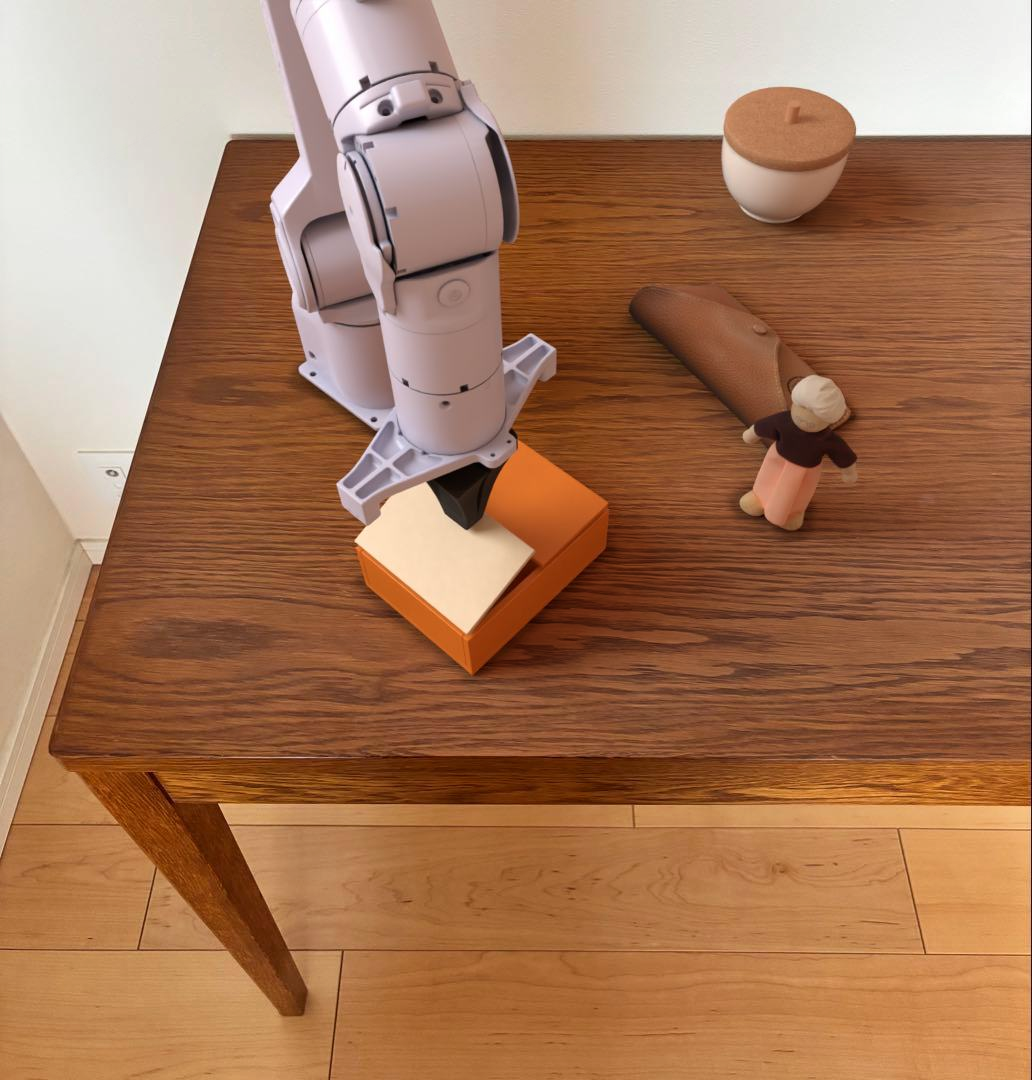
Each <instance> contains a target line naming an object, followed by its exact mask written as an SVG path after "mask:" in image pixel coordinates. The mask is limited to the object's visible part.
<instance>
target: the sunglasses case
mask: <svg viewBox="0 0 1032 1080" xmlns="http://www.w3.org/2000/svg"><path fill="white" fill-rule="evenodd" d="M628 313H629V314H630V316H631V318H632V319H633V320H634V321H635V322H636V323H637V324H639V325H640V326H641V327H642V328H643V330H645V332H647V333H648V334H649V335H650V336H652V337H653V338H654V339H655V340H656V341H657V342H658V343H660V344H661V345H662V346H663V347H664V348H665V349H666V350H667V351H668V352H669V353H670V354H672V355H673V356H674V357H675V358H676V359H678V360H679V361H680V362H681V363H682V365H683V366H684V367H686V369H688V371H689V372H690V373H691V374H692V375H693V376H695V377H696V379H697V380H698V381H700V382H701V383H702V384H703V385H704V386H705V388H707V389H708V390H709V391H710V392H711V393H712V394H713V395H714V397H716V398H717V399H718V401H720V402H721V404H723V405H724V406H725V407H726V408H727V409H728V410H729V411H730V412H731V413H732V414H733V415H734V416H735V417H736V419H738V420H739V421H740V422H741V424H743V425H744V426H745V427H746V428H747V430H748V429H749V428H750V427H751V426H752V425H754V424H755V422H756V421H757V420H759V419H762V418H765V417H767V416H770V415H773V414H776V413H779V412H782V411H788V410H791V408H792V404H793V401H792V397H791V395H792V391H793V389H794V387H795V386H796V385H797V384H798V383H799V382H800V381H801V380H803V379H804V378H806V377H808V376H811V375H817V376H820V375H819V373H817V372H816V371H815V370H814V369H813V368H812V367H811V366H810V365H808V364H807V363H806V362H805V361H804V360H803V359H802V357H800V356H799V355H798V354H797V353H795V351H794V350H792V349H791V348H790V347H789V346H788V345H786V344H785V342H783V341H782V339H781V337H780V335H779V334H778V333H777V332H776V331H775V330H774V329H773V328H772V327H771V326H769V324H767V323H766V322H765V321H764V320H762V319H761V318H759V317H758V316H755V315H754V314H753V313H752V312H751V311H750V310H748V308H747V307H745V306H744V305H743V304H742V303H741V302H739V301H738V299H736V298H735V297H734V296H733V295H732V294H731V293H730V292H728V291H727V290H726V289H725V288H724V287H723V286H721V285H720V284H718V283H716V282H714V281H707V282H705V283H701V284H697V285H684V286H683V285H682V286H672V287H671V286H670V287H669V286H668V287H664V286H659V285H657V284H647V285H643V286H642V287H641V288H639V289H638V290H637V291H636V292H635V294H634V295H633V297H632V298H631V299H630V303H629V306H628ZM845 404H846V402H845ZM846 407H847V409H845V411H844V414H843V416H842V417H841V418H840V419H839V420H838V421H837V422H835V423H830V424H829V425H828V426H829V427H830V428H831V430H832V431H833V432H834V430H836V429H838V428H839V427H841V426H843V425H844V424H845V423H847V422H848V421H849V420H850V419H851V416H852V415H853V413H852V410H851V409H850V408H849V406H848V404H846ZM759 441H760V443H762V444H763V445H764V446H765V448H766V449H767V450H769V448H770V447H771V446H772V444H773V443H774V442H775V440H772V439H768V438H765V437H762V438H761V439H759Z"/></svg>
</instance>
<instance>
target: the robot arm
mask: <svg viewBox="0 0 1032 1080" xmlns="http://www.w3.org/2000/svg"><path fill="white" fill-rule="evenodd" d="M259 4H260V5H259V6H260V8H261V13H262V17H263V20H264V25H265V27H266V31H267V35H268V38H269V42H270V46H271V50H272V54H273V57H274V62H275V66H276V69H277V73H278V77H279V81H280V84H281V88H282V92H283V96H284V99H285V103H286V107H287V112H288V114H289V119H290V123H291V127H292V130H293V134H294V137H295V141H296V145H297V148H298V152H299V157H298V159H297V160H296V162H295V163H294V164H293V166H292V168H290V169H289V171H288V173H287V174H286V175H285V176H284V177H283V179H282V180H281V181H280V182H279V184H277V186H276V187H275V188H274V190H273V191H272V193H271V195H270V199H271V202H270V204H269V209H270V213H271V216H272V219H273V224H274V227H275V229H274V234H275V239H276V243H277V245H278V246H277V247H278V249H279V253H280V254H279V255H280V256H281V260H282V264H283V267H284V270H285V272H286V276H287V278H288V283H289V284H290V285H289V286H290V288H291V290H292V295H291V308H292V312H293V316H294V319H295V323H296V327H297V330H298V335H299V337H300V342H301V346H302V349H303V352H304V356H305V359H306V361H305V362H303V363H302V364H300V365H299V366H298V373H299V375H300V376H301V377H303V378H305V379H306V380H307V381H309V382H310V383H311V384H313V385H314V386H315V387H317V388H318V389H319V390H320V391H322V392H324V393H325V395H327V396H328V397H330V398H331V399H333V400H334V401H335V402H337V404H339V405H340V406H342V407H343V408H345V409H346V410H347V411H349V412H350V413H351V414H353V415H354V416H355V417H356V418H358V419H359V420H360V421H362V422H363V423H365V425H367V426H369V428H371V429H372V430H374V431H375V432H376V434H375V436H374V437H373V439H372V440H371V441H370V443H369V445H368V446H367V448H366V449H365V451H364V452H363V454H362V456H360V458H359V460H358V461H357V462H356V464H355V465H354V467H352V468H351V470H350V471H349V472H348V473H347V474H346V475H345V476H344V477H342V478H341V479H340V480H339V481H338V482H336V484H335V485H336V489H337V491H338V495H339V499H340V502H341V506H342V507H343V508H344V509H345V510H346V511H348V512H349V513H350V514H351V515H352V516H353V517H355V518H356V519H357V520H359V521H360V522H361V523H362V524H363V525H365V527H366V526H369V525H370V524H371V523H372V522H374V521H375V520H376V519H377V518H379V517H380V515H381V511H380V509H381V507H380V506H381V503H382V502H383V501H384V500H386V499H389V498H390V497H391V496H393V495H395V494H397V493H400V492H402V491H405V490H407V489H409V488H412V487H414V486H417V485H419V484H422V483H424V482H426V483H427V484H428V485H429V487H430V488H431V489H432V491H433V493H434V494H435V496H436V497H437V499H438V501H439V503H440V505H441V507H442V509H443V511H444V514H445V515H447V516H448V517H449V518H451V519H452V520H453V521H454V522H456V523H457V524H458V525H460V526H461V527H462V528H463V529H465V530H469V529H470V528H471V527H472V526H473V525H474V524H476V523H477V522H478V521H479V520H480V519H481V518H482V517H483V514H484V512H485V509H486V506H487V503H488V500H489V496H490V494H491V491H492V488H493V486H494V483H495V481H496V479H497V477H498V475H499V473H500V471H501V470H502V468H503V466H504V465H505V463H506V462H507V461H508V459H509V458H510V457H511V456H512V455H513V454H514V453H515V452H516V450H517V449H518V440H519V439H518V434H517V432H516V430H514V429H513V428H512V427H513V425H514V423H515V422H516V419H517V417H518V415H519V414H520V412H521V410H522V408H523V406H524V405H525V403H526V402H527V399H528V398H529V396H530V394H531V393H532V390H533V389H534V387H535V385H536V384H537V382H538V381H540V382H547V381H549V380H550V379H551V378H552V377H554V376H555V375H556V374H557V348H556V347H554V346H552V345H551V344H549V343H547V342H546V341H545V340H543V339H541V338H539V337H538V336H537V335H535V334H534V333H529V334H527V335H526V336H524V337H523V338H521V339H519V340H518V341H516V342H514V343H511V344H510V345H507V346H505V347H503V327H502V325H503V323H502V305H501V302H502V301H501V279H500V277H501V276H500V257H499V255H500V254H499V248H500V247H501V245H502V243H503V242H504V243H505V244H508V245H509V244H510V245H512V244H513V243H515V241H517V238H518V235H519V231H520V202H519V194H518V187H517V182H516V177H515V172H514V167H513V164H512V160H511V157H510V153H509V150H508V147H507V143H506V142H505V138H504V135H503V132H502V130H501V128H500V126H499V124H498V121H497V119H496V118H495V115H494V114H493V112H492V111H491V109H490V108H489V107H488V106H487V105H486V104H485V102H483V101H482V99H481V98H480V95H479V94H478V91H477V88H476V85H475V83H472V82H473V81H472V80H471V79H470V78H469V79H466V80H461V79H460V77H459V74H458V72H457V69H456V65H455V63H454V60H453V57H452V54H451V52H450V49H449V46H448V43H447V41H446V38H445V35H444V32H443V29H442V27H441V23H440V20H439V18H438V15H437V12H436V9H435V7H434V4H433V1H432V0H259Z"/></svg>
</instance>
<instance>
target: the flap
mask: <svg viewBox="0 0 1032 1080" xmlns="http://www.w3.org/2000/svg"><path fill="white" fill-rule="evenodd" d="M380 511H381V515H380V517H379V518H377V519H376V520H375V521H374V522H372V523H371V524H370V525H369V526H366V525H365V527H364V528H363V529H362V530H361V532H360V533H359V534H358V536H357V537H356V538H355V539H354V543H355V544H357V546H358V545H360V546H361V547H362V548H363V549H364V550H366V551H367V552H368V553H369V554H370V555H372V556H373V557H374V558H375V559H376V560H378V561H379V562H380V563H381V564H382V565H384V566H385V567H386V568H387V569H388V570H390V571H391V572H392V573H393V574H394V575H396V576H397V577H398V578H399V579H400V580H402V581H403V582H404V583H405V584H406V585H408V586H409V587H410V588H411V589H413V590H414V591H415V592H416V593H417V594H419V595H420V596H421V597H422V598H423V599H425V600H426V601H427V602H428V603H429V604H431V605H432V606H433V607H434V608H435V609H437V610H438V611H439V612H440V613H441V614H443V615H444V616H445V617H446V618H447V619H449V620H450V621H451V622H452V623H453V624H455V625H456V626H457V627H458V628H460V629H461V630H462V631H463V632H464V633H466V634H467V635H469V634H470V633H471V632H472V631H473V629H474V628H475V627H476V626H477V624H478V623H479V622H480V621H481V619H482V618H483V617H484V616H485V614H486V613H487V612H488V611H489V609H490V608H491V607H492V606H493V604H494V603H495V602H496V601H497V599H498V598H499V597H500V596H501V594H502V593H503V592H504V591H505V589H506V588H507V587H508V586H509V584H510V583H511V582H512V581H513V579H514V578H515V577H516V576H517V574H518V573H519V572H520V571H521V569H522V568H523V567H524V566H525V564H526V563H527V562H528V561H529V559H530V558H531V557H532V556H533V554H534V553H535V552H536V551H535V550H534V549H533V548H531V547H530V546H529V545H527V544H526V543H525V542H523V541H522V540H521V539H519V538H518V537H517V536H515V535H514V534H513V533H511V532H510V531H509V530H507V529H506V528H505V527H503V526H502V525H501V524H499V523H498V522H497V521H495V520H494V519H493V518H491V517H490V516H489V515H487V514H486V513H485V512H484V514H483V517H482V518H481V519H480V520H479V521H478V522H477V523H476V524H474V525H473V526H472V527H471V528H470V529H469V530H465V529H463V528H462V527H461V526H460V525H458V524H457V523H456V522H454V521H453V520H452V519H451V518H449V517H448V516H447V515H445V514H444V511H443V509H442V507H441V505H440V503H439V501H438V499H437V497H436V496H435V494H434V493H433V491H432V489H431V488H430V487H429V485H428V484H427V483H426V482H424V483H422V484H419V485H417V486H414V487H412V488H409V489H407V490H405V491H402V492H400V493H397V494H395V495H393V496H390V497H388V498H387V500H386V501H385V503H384V504H383V505H382V506H381V507H380Z"/></svg>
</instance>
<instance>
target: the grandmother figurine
mask: <svg viewBox="0 0 1032 1080" xmlns="http://www.w3.org/2000/svg"><path fill="white" fill-rule="evenodd" d="M791 397H792V401H793V404H792V408H791V410H788V411H782V412H779V413H776V414H773V415H770V416H767V417H765V418H762V419H759V420H757V421H756V422H755V424H754V425H752V426H751V427H750V428H749V429H748V428H747V429H746V430H745V431H744V432H743V434H742V440H743V442H744V443H745V444H748V445H753V444H755V443H757V442H758V440H759V439H761V438H762V437H765V438H768V439H772V440H775V442H774V443H773V444H772V446H771V447H770V448H769V449H767V452H766V454H765V457H764V458H763V461H762V464H761V466H760V469H759V471H758V472H757V475H756V479H755V481H754V484H753V487H752V490H750V491H747V493H744V495H743V496H741V498H740V499H739V507H740V508H741V510H742V511H743V512H744V513H746V514H747V515H749V516H752V517H760V516H762V515H764V516H765V519H766V520H767V521H769V522H770V524H773V525H775V526H778V527H780V528H781V529H784V530H786V531H796V530H798V529H800V528H801V527H802V526H803V523H804V518H805V513H806V510H807V508H808V506H809V504H810V502H811V500H812V498H813V496H814V494H815V492H816V489H817V487H818V484H819V481H820V478H821V475H822V471H823V466H824V456H825V455H826V456H827V457H828V458H829V460H830V462H832V463H833V464H834V465H835V466H836V467H837V468H838V469H839V472H840V475H841V477H840V478H841V480H842V482H843V483H845V484H846V485H852V484H855V483H856V482H857V481H858V480H859V473H858V471H857V464H856V463H857V461H858V455H857V453H856V452H854V450H853V449H852V448H851V446H850V445H849V444H848V443H847V441H846V440H845V439H844V438H843V437H842V436H841V435H839V434H837V433H836V432H835V431H834V430H833V431H832V430H831V428H830V427H829V426H828V425H829V424H830V423H835V422H837V421H838V420H839V419H840V418H841V417H842V416H843V414H844V411H845V409H847V407H846V405H847V404H845V403H846V400H845V396H844V394H843V393H842V391H841V388H840V387H838V386H837V385H836V384H835V382H834V381H833V380H832V379H831V378H829V377H823V376H820V375H819V376H817V375H811V376H808V377H806V378H804V379H803V380H801V381H800V382H799V383H798V384H797V385H796V386H795V387H794V389H793V391H792V395H791ZM759 441H760V440H759Z"/></svg>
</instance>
